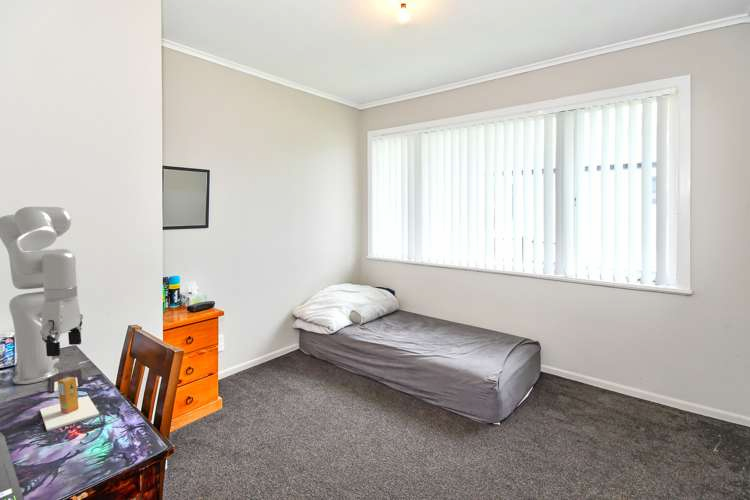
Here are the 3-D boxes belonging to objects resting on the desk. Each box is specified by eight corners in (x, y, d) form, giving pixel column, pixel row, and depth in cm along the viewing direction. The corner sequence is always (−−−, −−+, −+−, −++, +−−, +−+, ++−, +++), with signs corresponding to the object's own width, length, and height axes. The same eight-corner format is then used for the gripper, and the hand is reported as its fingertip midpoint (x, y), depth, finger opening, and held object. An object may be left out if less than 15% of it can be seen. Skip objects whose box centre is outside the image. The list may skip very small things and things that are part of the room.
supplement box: (71, 407, 117) (69, 375, 116) (79, 409, 116) (76, 377, 115) (59, 412, 114) (57, 380, 113) (67, 414, 113) (64, 381, 112)
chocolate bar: (80, 368, 147) (82, 384, 133) (80, 371, 147) (82, 387, 133) (50, 374, 141) (49, 392, 127) (50, 377, 141) (49, 394, 127)
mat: (40, 410, 116) (39, 409, 116) (88, 397, 125) (88, 395, 125) (47, 431, 105) (46, 429, 105) (99, 415, 114) (99, 413, 114)
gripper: (66, 288, 120) (69, 340, 121) (24, 300, 103) (29, 361, 104) (92, 287, 121) (95, 339, 122) (55, 299, 104) (59, 360, 105)
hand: (64, 349), depth 113 cm, fingers open, 9 cm apart
